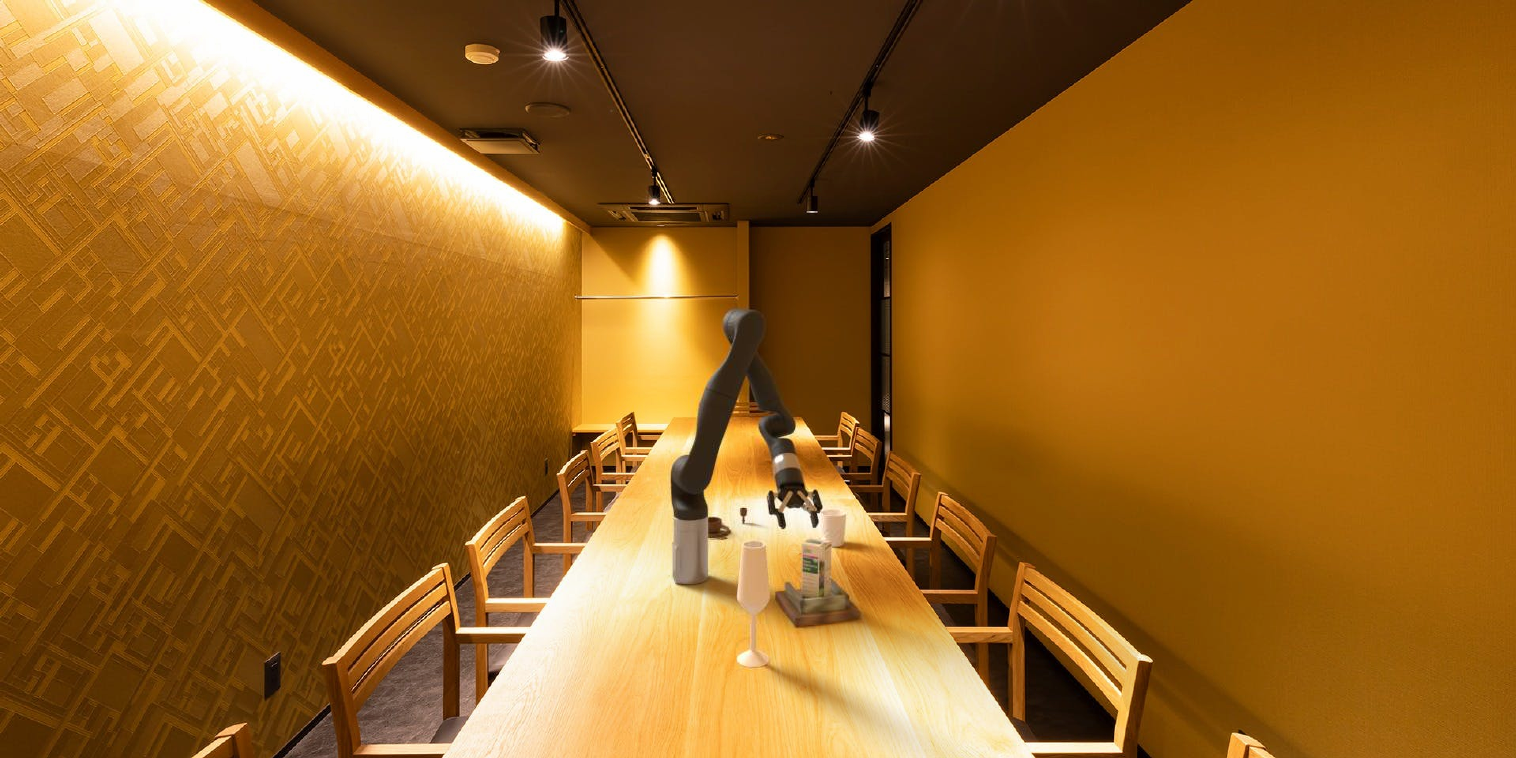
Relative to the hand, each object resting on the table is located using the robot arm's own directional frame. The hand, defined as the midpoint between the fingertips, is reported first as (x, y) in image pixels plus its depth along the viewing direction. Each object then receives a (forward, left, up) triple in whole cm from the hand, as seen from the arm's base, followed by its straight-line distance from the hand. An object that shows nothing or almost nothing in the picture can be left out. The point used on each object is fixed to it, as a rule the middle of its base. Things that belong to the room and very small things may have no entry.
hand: (799, 527), depth 173 cm
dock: (0, -12, -17) cm, 21 cm away
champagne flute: (-21, -32, -17) cm, 42 cm away
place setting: (-8, +54, -17) cm, 57 cm away
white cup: (+22, +33, -17) cm, 43 cm away
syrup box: (0, -12, -15) cm, 19 cm away
